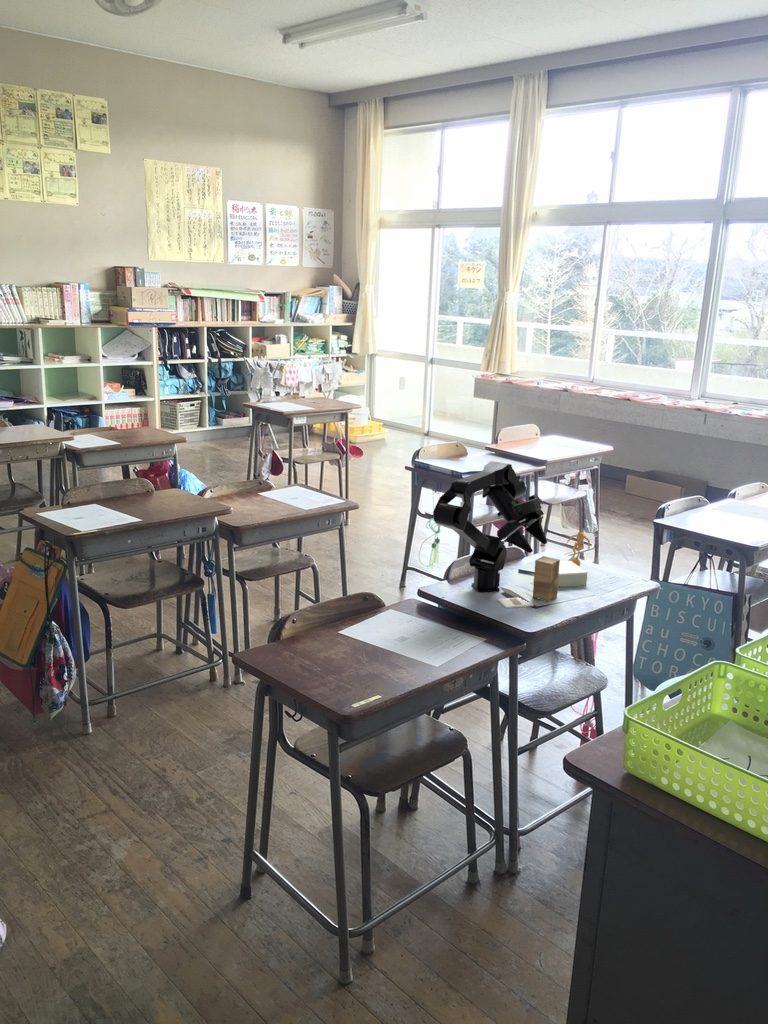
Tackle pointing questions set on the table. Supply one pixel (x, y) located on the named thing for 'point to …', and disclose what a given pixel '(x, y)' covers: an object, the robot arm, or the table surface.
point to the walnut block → (546, 578)
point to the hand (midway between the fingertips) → (538, 547)
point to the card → (514, 602)
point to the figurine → (580, 538)
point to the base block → (571, 574)
